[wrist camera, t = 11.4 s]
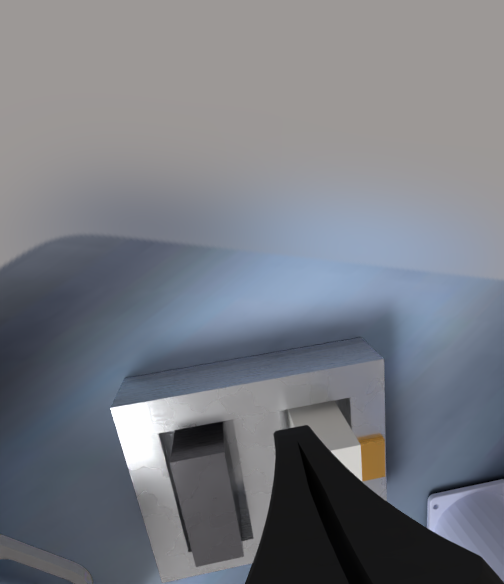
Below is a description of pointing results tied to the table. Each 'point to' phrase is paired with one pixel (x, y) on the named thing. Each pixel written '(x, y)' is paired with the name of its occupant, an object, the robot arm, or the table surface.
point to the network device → (43, 561)
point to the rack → (235, 444)
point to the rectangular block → (329, 432)
